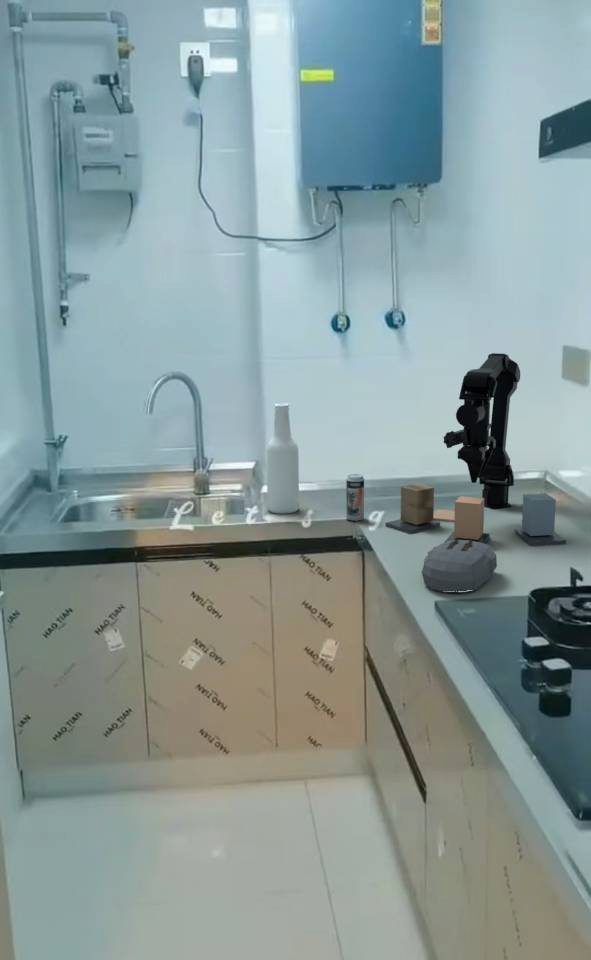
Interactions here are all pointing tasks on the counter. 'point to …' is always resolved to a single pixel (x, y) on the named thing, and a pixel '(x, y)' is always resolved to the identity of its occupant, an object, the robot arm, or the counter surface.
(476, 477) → the robot arm
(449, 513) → the card
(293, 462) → the alcohol
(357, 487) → the beer can
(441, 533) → the counter surface
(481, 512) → the tan block
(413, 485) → the brown wooden block
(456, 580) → the small grey backpack
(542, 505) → the blue-grey rectangular block
